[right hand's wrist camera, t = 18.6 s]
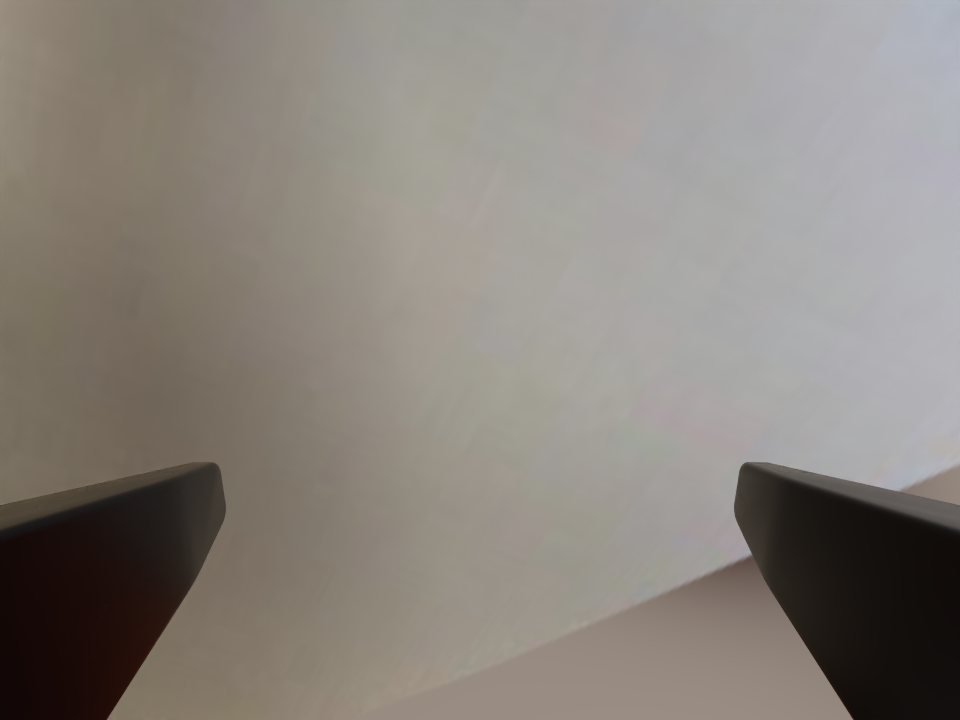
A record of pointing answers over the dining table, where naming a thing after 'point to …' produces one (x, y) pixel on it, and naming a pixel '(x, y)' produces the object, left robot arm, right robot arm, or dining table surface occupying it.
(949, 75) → the dining table surface
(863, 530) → the right robot arm
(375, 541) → the dining table surface
